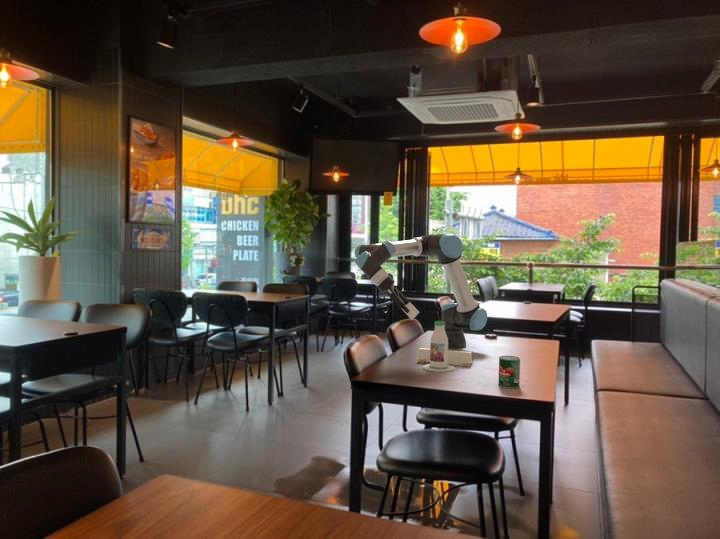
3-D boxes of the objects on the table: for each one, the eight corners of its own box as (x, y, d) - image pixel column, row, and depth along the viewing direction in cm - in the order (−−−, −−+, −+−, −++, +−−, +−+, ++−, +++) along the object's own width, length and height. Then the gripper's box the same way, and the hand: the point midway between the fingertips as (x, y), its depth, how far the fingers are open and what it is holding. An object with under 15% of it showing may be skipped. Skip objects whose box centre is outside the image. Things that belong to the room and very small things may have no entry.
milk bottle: (437, 364, 255) (438, 319, 254) (451, 367, 249) (452, 321, 248) (426, 366, 249) (427, 321, 248) (440, 369, 244) (441, 323, 243)
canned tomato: (497, 387, 217) (497, 358, 216) (499, 382, 224) (500, 355, 224) (518, 389, 214) (519, 360, 214) (520, 384, 221) (521, 356, 221)
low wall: (417, 362, 262) (417, 349, 261) (421, 360, 267) (421, 347, 267) (469, 366, 253) (470, 353, 253) (472, 364, 259) (472, 351, 258)
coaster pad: (416, 366, 252) (416, 365, 252) (442, 364, 258) (442, 362, 258) (434, 373, 240) (434, 371, 240) (461, 370, 246) (461, 368, 246)
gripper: (381, 285, 266) (412, 318, 264) (371, 288, 242) (406, 325, 239) (393, 274, 265) (424, 307, 262) (384, 276, 241) (419, 313, 238)
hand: (415, 316), depth 251 cm, fingers open, 13 cm apart
